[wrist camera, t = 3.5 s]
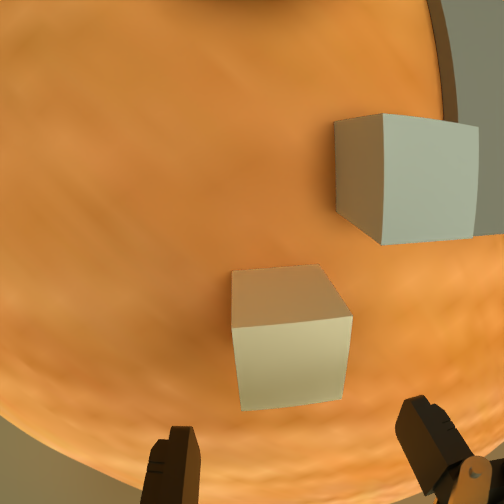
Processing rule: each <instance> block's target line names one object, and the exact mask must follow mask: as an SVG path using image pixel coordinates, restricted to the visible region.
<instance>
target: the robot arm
mask: <svg viewBox="0 0 504 504" xmlns="http://www.w3.org/2000/svg"><path fill="white" fill-rule="evenodd" d="M450 420H451V419H450V418H449V416H448V415H447V413H446V412H445V410H443V409H442V408H440V407H439V406H438V405H436V404H432V405H430V403H429V402H428V400H427V398H426V397H425V396H424V395H419V396H416V397H412V398H409V399H405V400H404V402H403V404H402V407H401V410H400V413H399V416H398V418H397V421H396V424H395V432H396V436H397V438H398V440H399V442H400V444H401V446H402V449H403V451H404V453H405V455H406V457H407V459H408V461H409V463H410V465H411V467H412V469H413V472H414V474H415V476H416V478H417V480H418V482H419V484H420V487H421V489H422V491H423V493H424V495H425V496H427V495H430V494H432V493H435V495H436V499H435V500H434V503H433V504H504V458H503V459H497V460H492V461H488V460H487V459H486V458H484V457H482V456H475V455H474V454H473V453H472V452H471V450H470V449H469V447H468V445H467V444H466V442H465V441H464V439H463V438H462V436H461V435H460V433H459V431H458V430H457V428H455V425H454V424H453V422H452V421H450ZM200 466H201V456H200V449H199V446H198V443H197V439H196V436H195V433H194V429H193V427H192V426H172V427H171V430H170V435H169V440H165V439H158V441H157V442H156V443H155V445H154V446H153V447H152V449H151V452H150V456H149V463H148V466H147V473H146V476H145V481H144V486H143V491H142V496H141V501H140V504H198V496H199V481H200Z"/></svg>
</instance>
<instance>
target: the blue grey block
mask: <svg viewBox="0 0 504 504" xmlns="http://www.w3.org/2000/svg"><path fill="white" fill-rule="evenodd" d="M334 136H335V168H336V212H337V213H338V214H340V215H341V216H342V217H344V218H345V219H347V220H348V221H349V222H351V223H352V224H353V225H355V226H356V227H357V228H359V229H360V230H362V231H363V232H364V233H366V234H367V235H368V236H370V237H371V238H372V239H374V240H375V241H376V242H377V243H379V244H380V245H393V244H406V243H418V242H431V241H444V240H456V239H469V238H473V232H474V223H475V214H476V204H477V190H478V170H479V127H476V126H471V125H465V124H460V123H454V122H448V121H442V120H435V119H428V118H421V117H413V116H404V115H395V114H384V113H382V114H375V115H369V116H363V117H357V118H351V119H345V120H340V121H335V122H334Z"/></svg>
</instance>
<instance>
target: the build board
mask: <svg viewBox="0 0 504 504" xmlns="http://www.w3.org/2000/svg"><path fill="white" fill-rule="evenodd" d="M427 2H428V6H429V11H430V15H431V20H432V25H433V30H434V36H435V41H436V47H437V54H438V61H439V68H440V77H441V86H442V97H443V111H444V121H448V122H454V123H460V124H465V125H471V126H476V127H479V170H478V190H477V204H476V214H475V223H474V232H473V236H482V235H494V234H504V1H503V0H427Z"/></svg>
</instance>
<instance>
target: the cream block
mask: <svg viewBox="0 0 504 504" xmlns="http://www.w3.org/2000/svg"><path fill="white" fill-rule="evenodd" d="M352 321H353V315H352V313H351V312H350V310H349V309H348V307H347V306H346V304H345V303H344V301H343V299H342V298H341V296H340V295H339V293H338V292H337V290H336V289H335V287H334V286H333V284H332V283H331V281H330V280H329V278H328V277H327V275H326V274H325V272H324V271H323V269H322V268H321V266H320V265H319V264H310V265H298V266H286V267H274V268H261V269H248V270H235V271H232V312H231V329H232V338H233V346H234V355H235V363H236V371H237V380H238V388H239V395H240V403H241V411H251V410H264V409H274V408H283V407H292V406H300V405H307V404H314V403H321V402H327V401H333V400H339V399H342V394H343V388H344V382H345V375H346V369H347V362H348V354H349V347H350V338H351V330H352Z"/></svg>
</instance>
